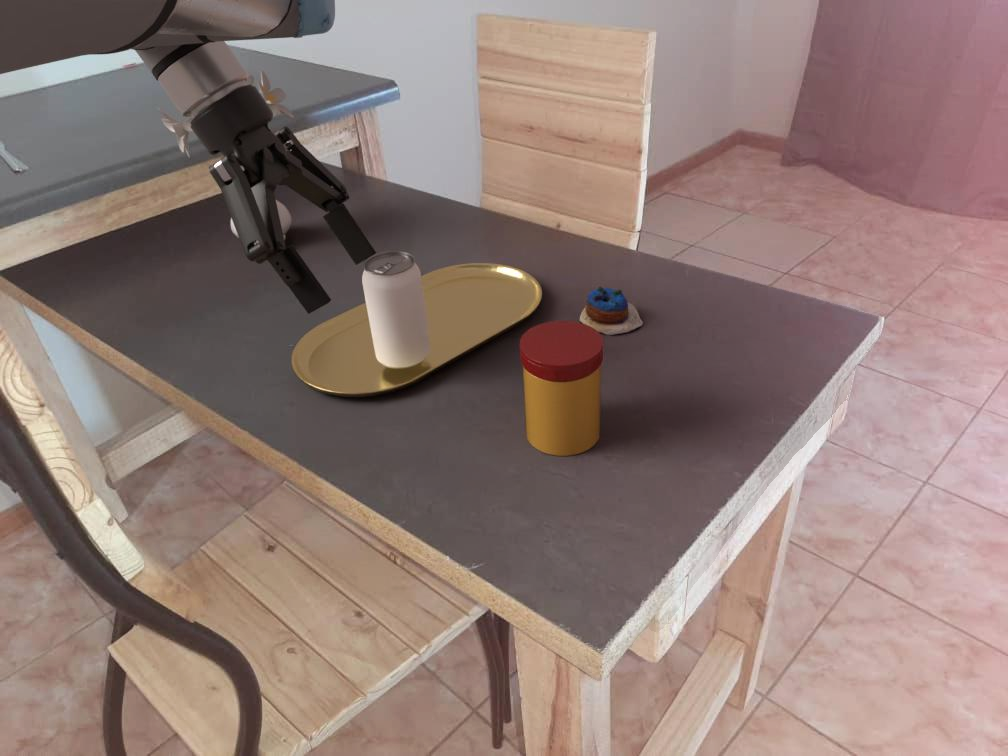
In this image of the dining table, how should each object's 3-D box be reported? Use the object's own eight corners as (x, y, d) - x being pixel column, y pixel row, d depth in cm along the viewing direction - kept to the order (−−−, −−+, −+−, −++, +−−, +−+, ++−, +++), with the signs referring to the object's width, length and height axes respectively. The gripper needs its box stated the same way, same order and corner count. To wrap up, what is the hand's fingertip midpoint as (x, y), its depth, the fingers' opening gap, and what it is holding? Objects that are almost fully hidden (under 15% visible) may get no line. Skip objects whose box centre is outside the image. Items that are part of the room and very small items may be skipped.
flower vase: (190, 253, 122) (138, 88, 107) (291, 214, 132) (255, 60, 117) (231, 277, 114) (181, 103, 99) (335, 234, 124) (303, 71, 110)
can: (442, 348, 91) (430, 255, 85) (408, 376, 87) (393, 281, 80) (399, 334, 94) (385, 244, 88) (364, 361, 90) (346, 268, 83)
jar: (596, 459, 76) (597, 371, 70) (520, 453, 78) (515, 366, 72) (603, 412, 82) (604, 327, 76) (532, 407, 84) (528, 323, 78)
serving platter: (571, 301, 102) (571, 290, 101) (354, 426, 83) (352, 414, 82) (475, 260, 113) (474, 250, 113) (264, 362, 94) (261, 351, 93)
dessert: (564, 310, 99) (589, 270, 97) (597, 323, 103) (621, 284, 101) (600, 342, 93) (627, 300, 91) (634, 354, 98) (660, 314, 96)
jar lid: (598, 384, 71) (599, 368, 70) (513, 379, 72) (512, 363, 71) (606, 338, 77) (606, 322, 76) (527, 333, 79) (527, 318, 78)
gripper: (251, 98, 88) (358, 255, 96) (116, 149, 67) (267, 347, 74) (299, 63, 85) (406, 228, 93) (174, 105, 64) (326, 315, 71)
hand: (344, 281), depth 83 cm, fingers open, 13 cm apart
